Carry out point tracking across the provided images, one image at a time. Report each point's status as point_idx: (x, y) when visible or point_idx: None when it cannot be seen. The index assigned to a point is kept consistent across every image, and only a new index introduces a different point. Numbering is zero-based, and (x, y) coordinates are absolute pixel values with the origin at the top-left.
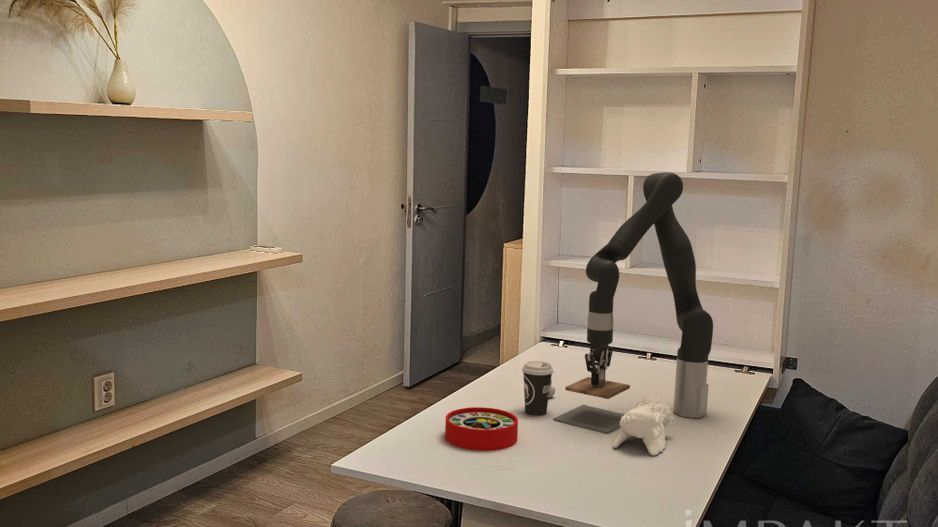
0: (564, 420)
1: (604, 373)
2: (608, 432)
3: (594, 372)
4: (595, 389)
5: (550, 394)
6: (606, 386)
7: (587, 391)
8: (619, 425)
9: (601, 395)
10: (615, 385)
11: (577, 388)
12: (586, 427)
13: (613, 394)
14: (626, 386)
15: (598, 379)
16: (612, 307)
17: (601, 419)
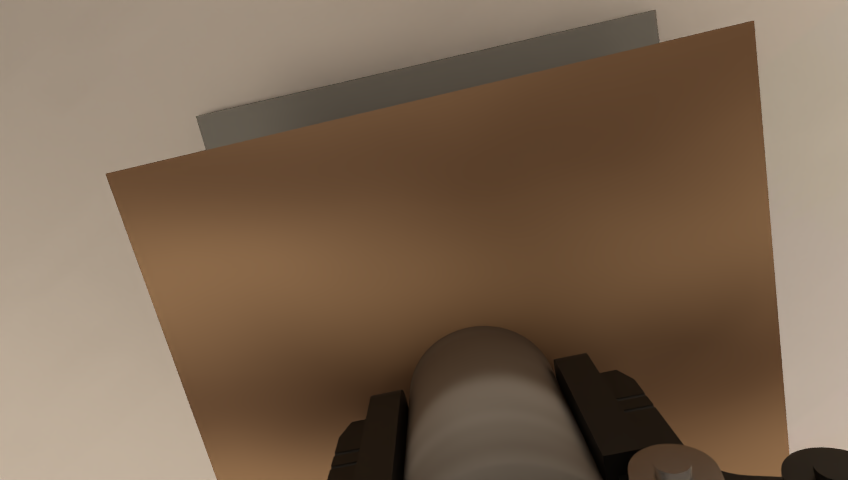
0: None
1: (391, 463)
2: (643, 13)
3: (831, 458)
4: (632, 317)
5: None
6: (415, 318)
7: (778, 322)
8: (459, 59)
9: (754, 125)
10: (286, 277)
11: (753, 469)
12: None
13: (587, 60)
14: (198, 157)
15: (587, 392)
16: None
17: None
